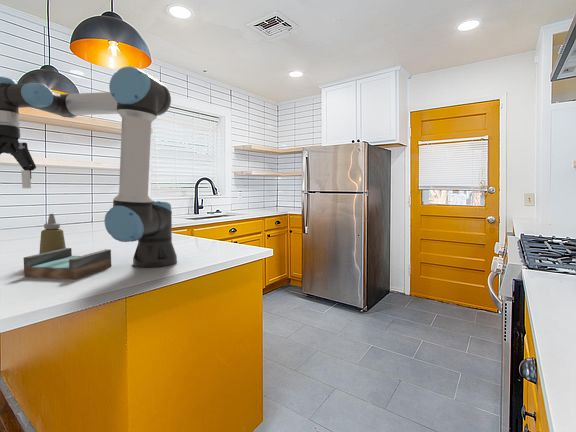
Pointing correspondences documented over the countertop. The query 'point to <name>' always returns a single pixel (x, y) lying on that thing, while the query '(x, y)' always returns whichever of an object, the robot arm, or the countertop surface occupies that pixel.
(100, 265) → the dock
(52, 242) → the squeeze bottle
